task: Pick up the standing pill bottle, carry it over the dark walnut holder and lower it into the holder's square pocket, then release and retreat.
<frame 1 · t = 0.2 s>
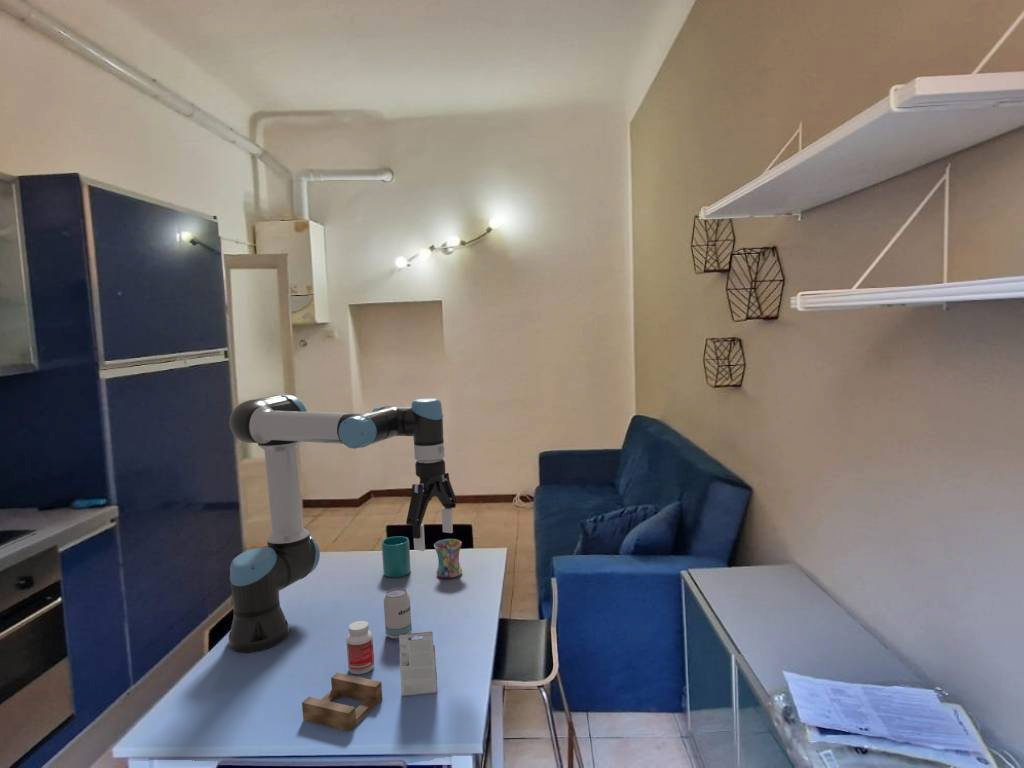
hand: (434, 540, 160), 27 cm above the table, fingers open, 13 cm apart
ink box: (419, 691, 142), on the table
beverage can: (399, 635, 168), on the table
cup: (398, 571, 212), on the table
walnut holder: (343, 709, 136), on the table
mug: (449, 576, 206), on the table
pill bottle: (361, 669, 152), on the table
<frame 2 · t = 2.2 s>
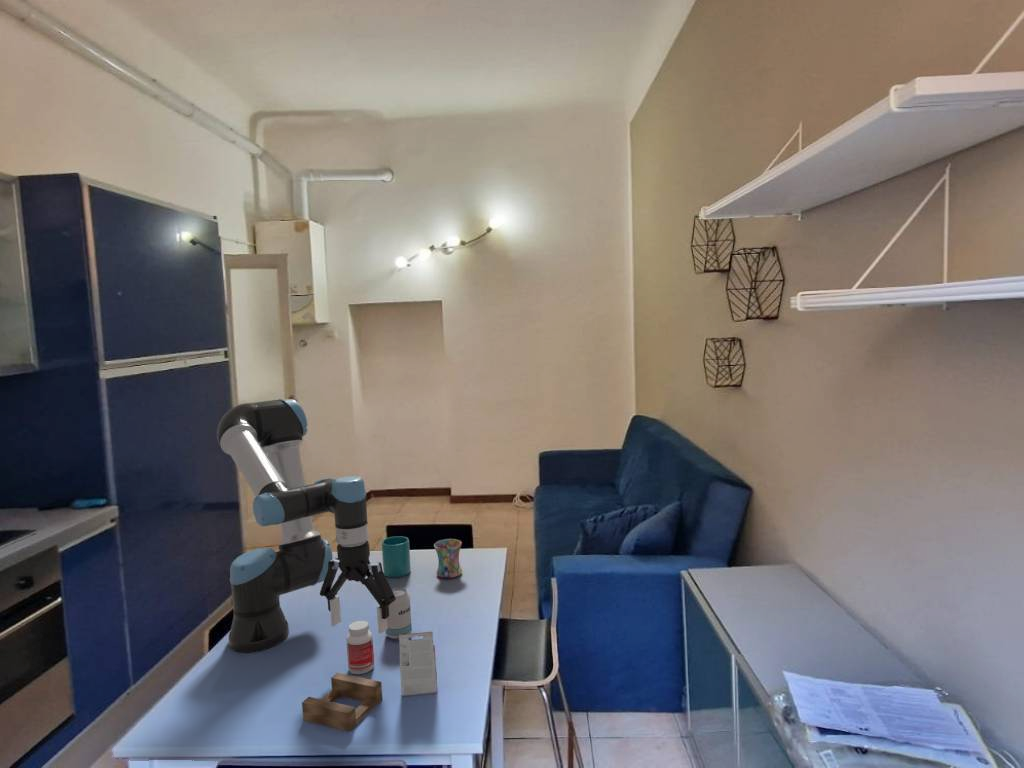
hand: (359, 627, 151), 11 cm above the table, fingers open, 13 cm apart
nothing on the table moved.
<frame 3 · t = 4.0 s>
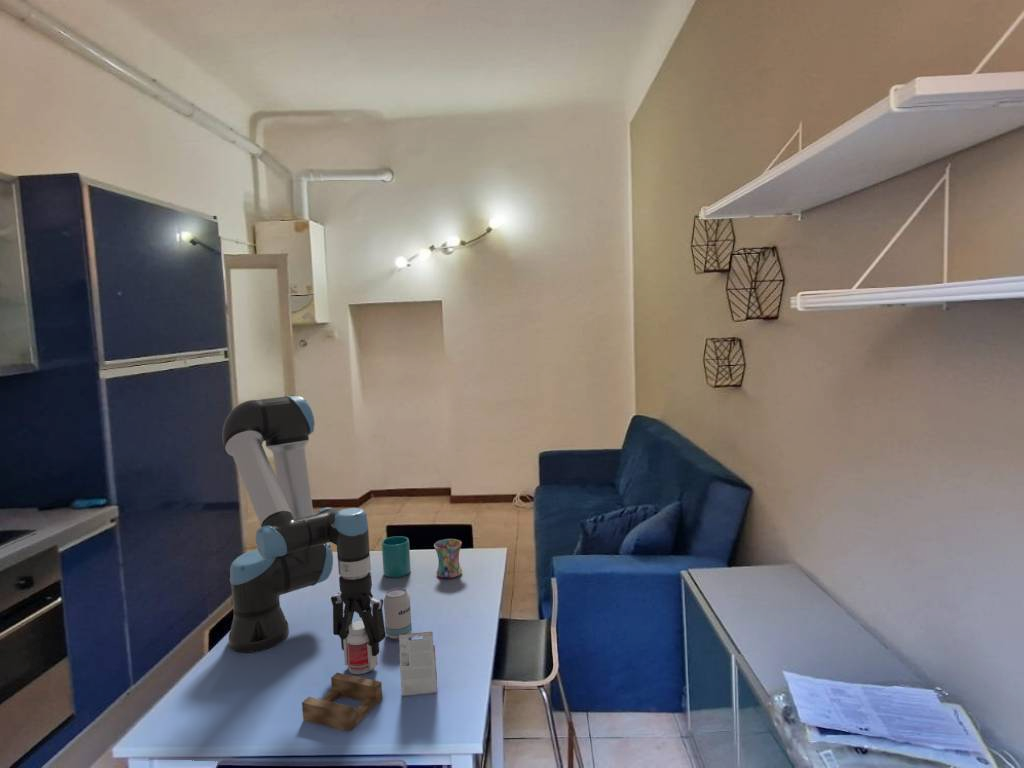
hand: (361, 664, 152), 1 cm above the table, fingers closed on pill bottle, 6 cm apart
pill bottle: (361, 669, 152), on the table, touching gripper
everything else where it was.
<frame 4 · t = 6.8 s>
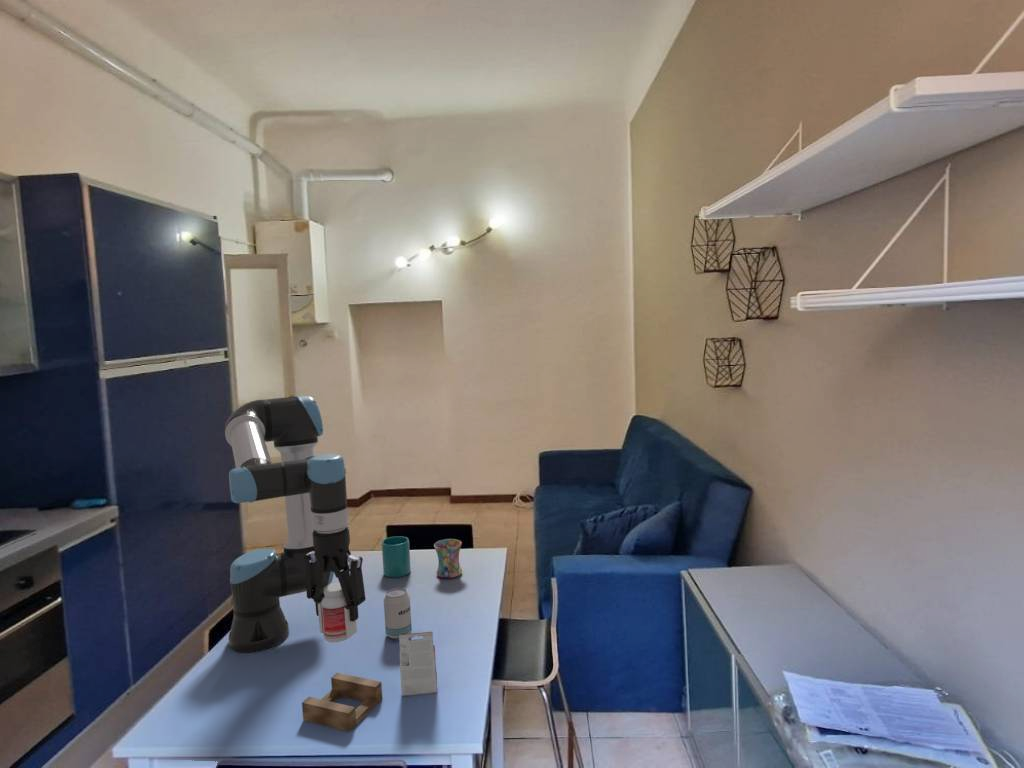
hand: (338, 632, 134), 18 cm above the table, fingers closed on pill bottle, 6 cm apart
pill bottle: (338, 637, 134), point 17 cm above the table, touching gripper
everything else where it was.
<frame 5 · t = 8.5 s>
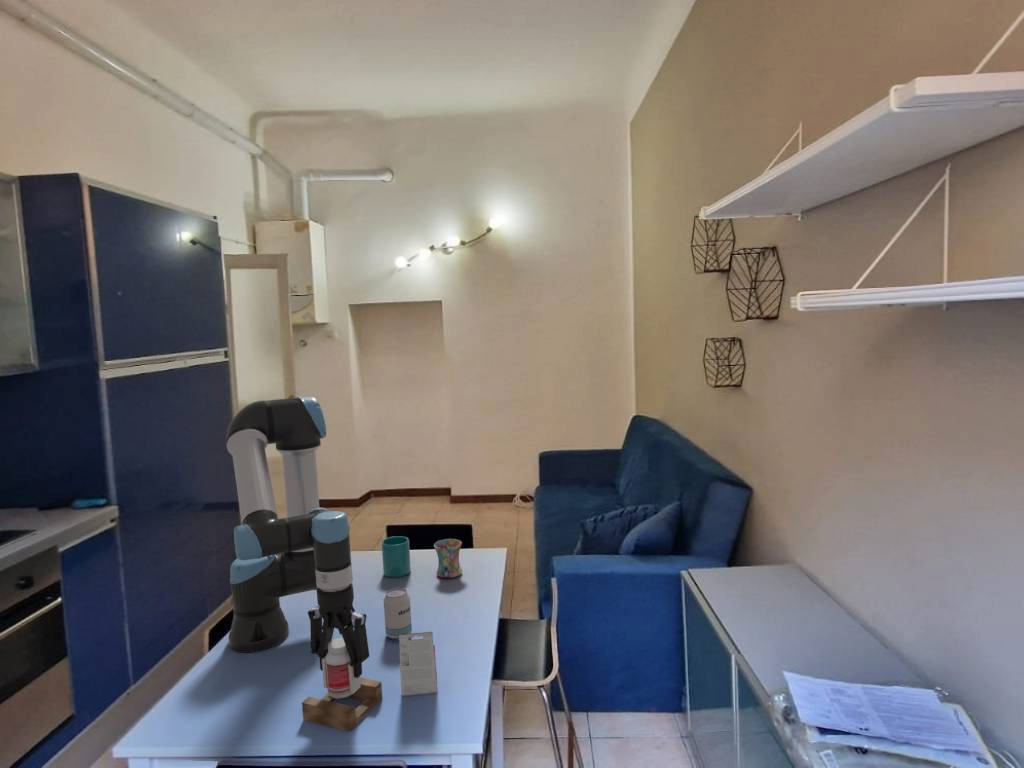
hand: (342, 687, 135), 5 cm above the table, fingers closed on pill bottle, 6 cm apart
pill bottle: (342, 692, 135), point 4 cm above the table, touching gripper
everything else where it was.
when the fingers open (2 cm above the table, at t = 9.7 s): pill bottle drops 1 cm, resting in walnut holder.
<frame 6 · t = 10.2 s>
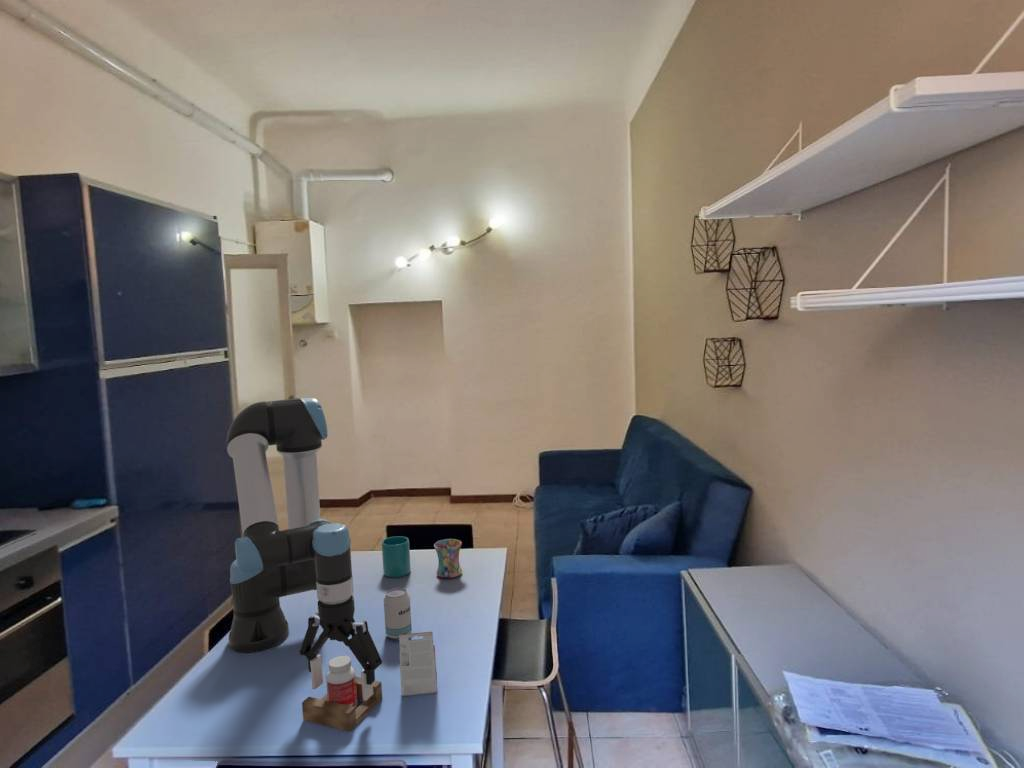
hand: (342, 691, 136), 4 cm above the table, fingers open, 13 cm apart
pill bottle: (343, 709, 136), resting in walnut holder
everything else where it was.
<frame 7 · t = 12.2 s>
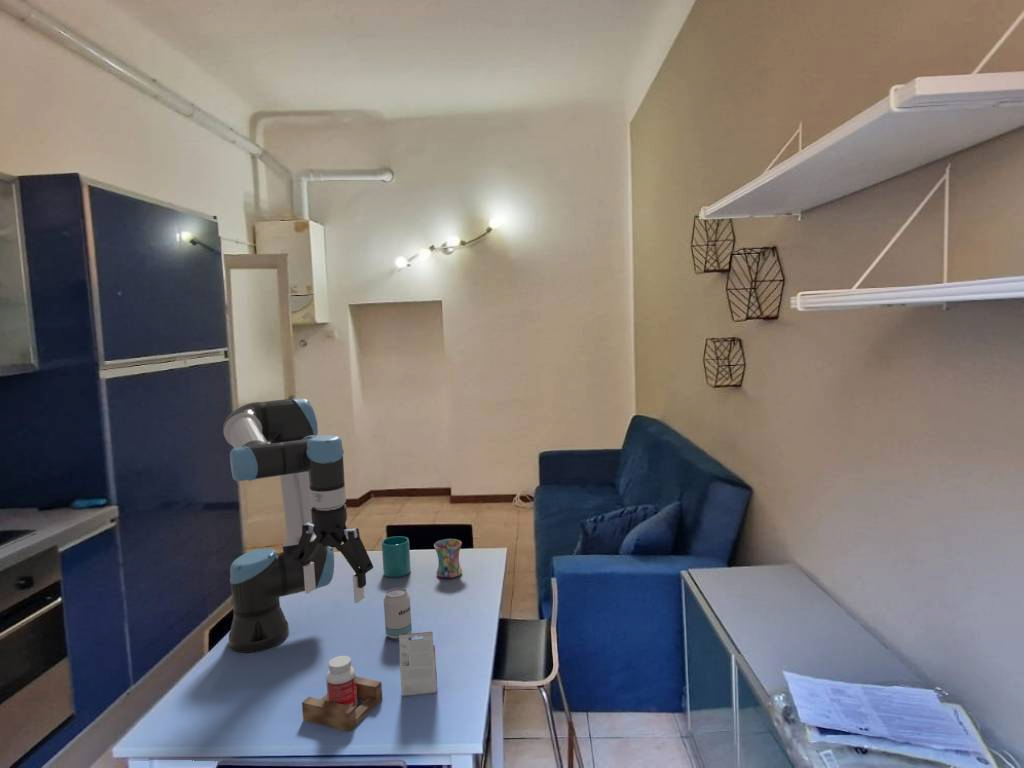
hand: (334, 595, 141), 22 cm above the table, fingers open, 13 cm apart
nothing on the table moved.
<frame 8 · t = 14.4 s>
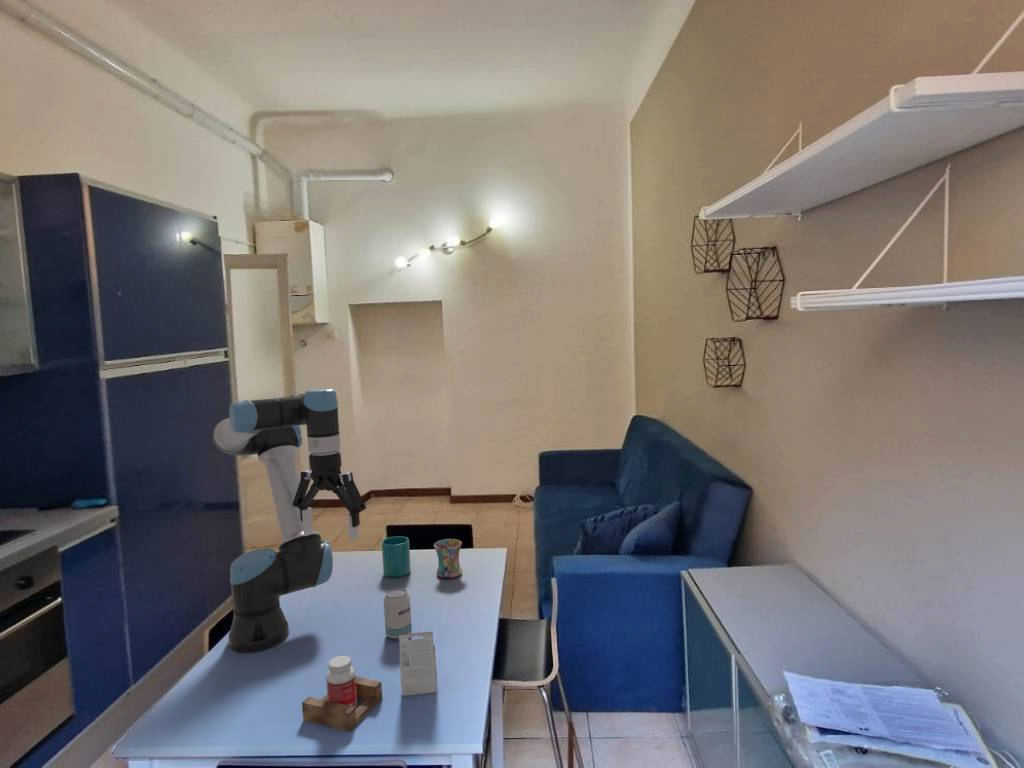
hand: (330, 536, 154), 32 cm above the table, fingers open, 13 cm apart
nothing on the table moved.
at the end: pill bottle 0.2 cm off-centre on the walnut holder, point 0.0 cm above the walnut holder's base; pill bottle tilted 0°; the gripper is holding nothing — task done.
